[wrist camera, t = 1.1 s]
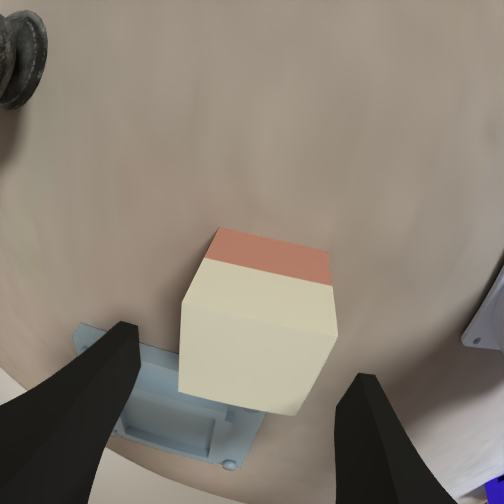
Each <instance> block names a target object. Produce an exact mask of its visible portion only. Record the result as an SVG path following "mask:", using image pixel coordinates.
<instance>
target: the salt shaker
mask: <svg viewBox="0 0 504 504" xmlns="http://www.w3.org/2000/svg"><path fill="white" fill-rule="evenodd" d="M47 42H48V41H47V34H46V28H45V26H44V24H43V22H42V19H41V18H40V17H39V16H38V15H37V14H36V13H34V12H31V11H28V10H23V11H17V12H15V13H13V14H11V15H9V16H8V17H6V18H5V17H4V16H2V15H1V14H0V110H5V111H8V110H12V109H16V108H18V107H19V106H21V105H22V104H24V103H25V102H26V101H27V100H28V99H29V98H30V96H31V95H32V94H33V92H34V90H35V89H36V87H37V85H38V84H39V81H40V79H41V76H42V73H43V71H44V67H45V62H46V57H47Z"/></svg>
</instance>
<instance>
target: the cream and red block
mask: <svg viewBox="0 0 504 504" xmlns="http://www.w3.org/2000/svg"><path fill="white" fill-rule="evenodd" d="M337 337H338V331H337V322H336V313H335V304H334V296H333V288H332V281H331V273H330V266H329V259H328V252H327V251H322V250H318V249H314V248H309V247H305V246H301V245H296V244H292V243H287V242H283V241H278V240H274V239H270V238H265V237H261V236H256V235H252V234H247V233H243V232H238V231H233V230H229V229H224V228H220V227H219V229H218V231H217V233H216V235H215V237H214V239H213V241H212V243H211V245H210V247H209V249H208V251H207V253H206V255H205V257H204V259H203V261H202V263H201V265H200V267H199V269H198V271H197V273H196V275H195V277H194V279H193V281H192V283H191V285H190V287H189V289H188V291H187V293H186V295H185V297H184V299H183V301H182V310H181V328H180V351H179V384H178V392H182V393H186V394H189V395H193V396H197V397H201V398H205V399H209V400H213V401H217V402H222V403H226V404H231V405H235V406H240V407H245V408H250V409H255V410H260V411H265V412H271V413H277V414H283V415H289V416H296V415H297V413H298V411H299V409H300V408H301V406H302V404H303V402H304V401H305V399H306V397H307V395H308V393H309V392H310V390H311V388H312V386H313V384H314V382H315V381H316V379H317V377H318V375H319V373H320V371H321V369H322V367H323V365H324V363H325V361H326V360H327V358H328V356H329V354H330V352H331V350H332V348H333V346H334V344H335V342H336V340H337Z"/></svg>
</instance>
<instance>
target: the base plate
mask: <svg viewBox="0 0 504 504" xmlns="http://www.w3.org/2000/svg"><path fill="white" fill-rule="evenodd" d="M106 333H107V332H105V331H102V330H99V329H96V328H93V327H90V326H88V325H85V324H82V323H81V324H80V326H79V327H78V329H77V330H76V331H75V333H74V334H73V335H72V337H73V341H74V345H75V348H76V352H77V357H78V356H79V355H80V354H81V353H83V352H84V351H85V350H86V349H88V348H89V347H90V346H91V345H93V344H94V343H95V342H96V341H97V340H98V339H100V338H101V337H102V336H103V335H104V334H106ZM139 346H140V356H141V368H140V371H139V374H138V377H137V380H136V382H135V385H134V388H133V390H132V393H131V395H130V397H129V399H128V401H127V403H126V405H125V407H124V409H123V411H122V413H121V415H120V417H119V419H118V421H117V423H116V425H115V427H114V429H113V431H112V433H111V435H110V436H113V437H115V435H116V434H118V435H121V437H123V438H126V439H129V440H132V441H135V442H137V443H140V444H143V445H146V446H149V447H153V448H156V449H159V450H162V451H166V452H169V453H172V454H176V455H180V456H183V457H187V458H191V459H195V460H199V461H203V462H207V463H211V464H214V463H217V464H221V465H223V468H224V469H226V470H231V471H232V470H235V468H241V466H242V464H243V462H244V460H245V458H246V456H247V454H248V452H249V450H250V447H251V445H252V443H253V441H254V439H255V437H256V434H257V432H258V430H259V428H260V426H261V423H262V421H263V419H264V417H265V414H266V412H265V411H260V410H255V409H250V408H245V407H240V406H235V405H231V404H226V403H222V402H217V401H213V400H209V399H205V398H201V397H197V396H193V395H189V394H186V393H182V392H178V384H179V354H176V353H172V352H169V351H165V350H162V349H158V348H155V347H152V346H148V345H145V344H142V343H139Z"/></svg>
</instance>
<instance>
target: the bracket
mask: <svg viewBox="0 0 504 504" xmlns="http://www.w3.org/2000/svg"><path fill="white" fill-rule="evenodd" d="M485 488H486V494H487V499H488V504H504V480H503V481H500V480H499V479H498V478H497V477H496V478H494V479H492V480H490V481H488V482H486V483H485Z"/></svg>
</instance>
